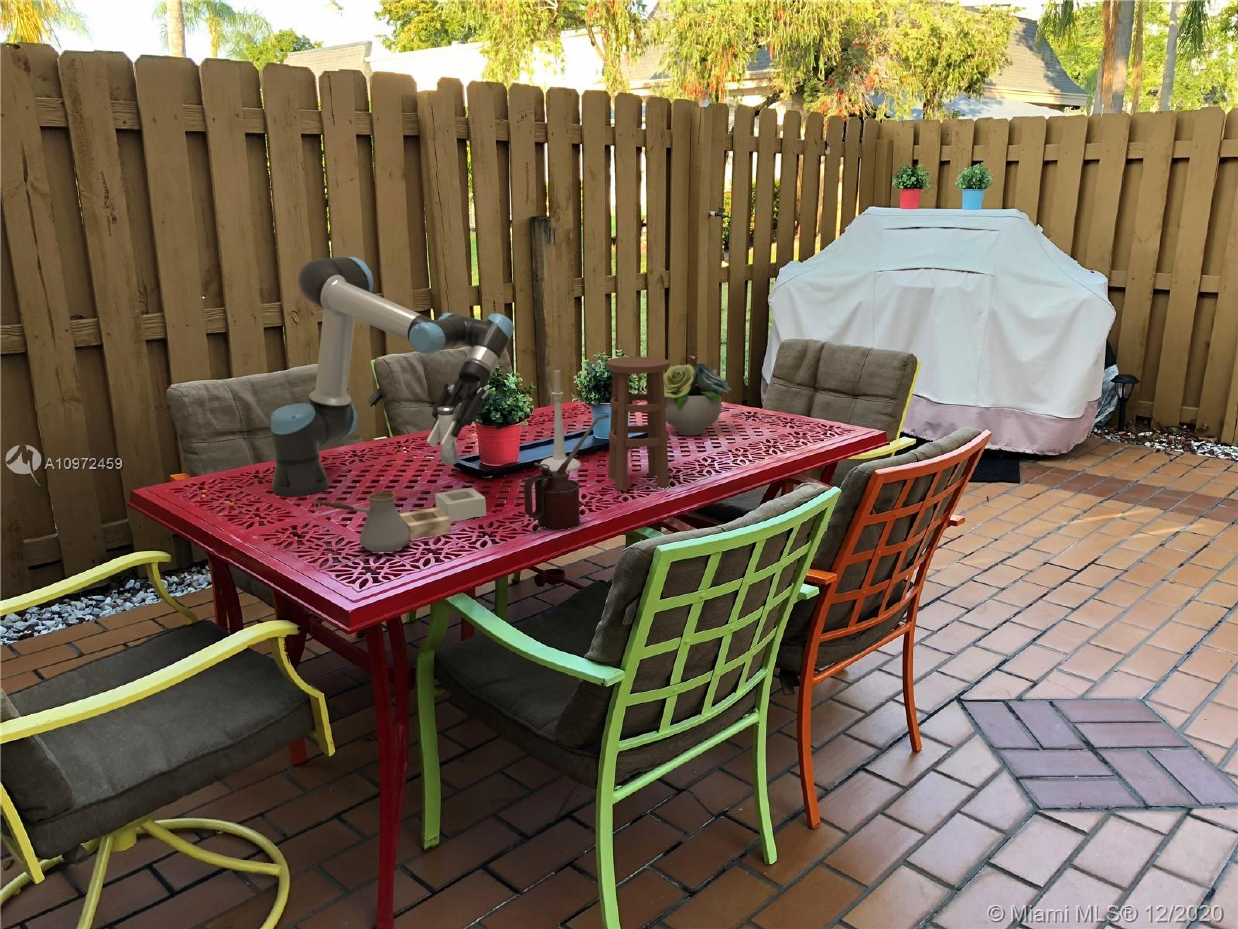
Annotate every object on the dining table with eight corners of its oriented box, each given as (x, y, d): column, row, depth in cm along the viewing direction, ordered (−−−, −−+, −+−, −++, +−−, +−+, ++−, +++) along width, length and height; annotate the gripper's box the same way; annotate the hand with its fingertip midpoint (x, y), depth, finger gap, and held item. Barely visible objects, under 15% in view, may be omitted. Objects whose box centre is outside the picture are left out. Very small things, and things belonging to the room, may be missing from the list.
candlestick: (534, 462, 273) (531, 366, 265) (574, 458, 277) (572, 364, 269) (544, 474, 262) (540, 374, 253) (585, 469, 265) (583, 371, 257)
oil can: (544, 539, 210) (540, 437, 203) (515, 528, 217) (510, 430, 210) (625, 510, 229) (624, 417, 222) (596, 501, 237) (594, 410, 230)
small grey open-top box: (448, 523, 221) (447, 504, 220) (436, 511, 230) (435, 493, 228) (486, 516, 226) (485, 497, 224) (472, 505, 234) (471, 487, 233)
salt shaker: (444, 465, 218) (440, 410, 214) (439, 461, 221) (435, 407, 217) (460, 463, 220) (456, 408, 216) (455, 459, 223) (451, 405, 219)
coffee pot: (397, 535, 213) (392, 476, 209) (420, 549, 205) (415, 487, 200) (311, 558, 200) (303, 495, 195) (332, 573, 191) (325, 508, 187)
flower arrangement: (688, 421, 325) (689, 355, 318) (740, 433, 307) (742, 363, 300) (639, 432, 309) (639, 363, 302) (692, 446, 291) (693, 372, 284)
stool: (647, 370, 229) (588, 363, 240) (647, 497, 239) (590, 485, 250) (686, 359, 245) (628, 353, 256) (685, 480, 255) (629, 469, 265)
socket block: (411, 542, 209) (409, 526, 208) (399, 529, 217) (398, 514, 216) (451, 534, 213) (450, 518, 212) (438, 522, 222) (437, 507, 221)
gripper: (511, 379, 223) (472, 458, 214) (460, 373, 232) (420, 448, 223) (497, 362, 217) (455, 442, 209) (445, 356, 226) (403, 433, 217)
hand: (437, 445), depth 216 cm, fingers closed on salt shaker, 4 cm apart
